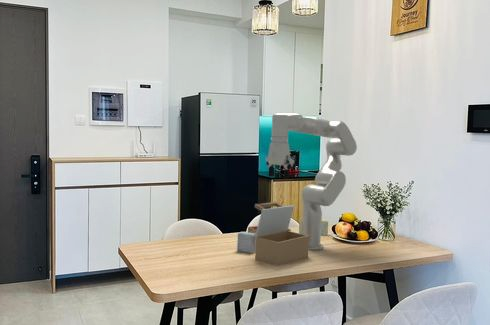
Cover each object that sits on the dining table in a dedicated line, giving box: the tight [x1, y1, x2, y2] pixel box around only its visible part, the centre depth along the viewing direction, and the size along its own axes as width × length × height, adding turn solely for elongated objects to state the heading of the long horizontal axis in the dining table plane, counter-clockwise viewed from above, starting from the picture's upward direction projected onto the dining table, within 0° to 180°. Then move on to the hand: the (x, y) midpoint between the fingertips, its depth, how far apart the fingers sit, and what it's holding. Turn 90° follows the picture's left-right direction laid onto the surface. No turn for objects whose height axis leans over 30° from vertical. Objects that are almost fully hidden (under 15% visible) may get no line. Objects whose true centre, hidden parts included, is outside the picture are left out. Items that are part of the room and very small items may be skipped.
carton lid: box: [254, 201, 295, 237], centre depth 212 cm, size 13×22×9 cm
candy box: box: [298, 219, 329, 237], centre depth 257 cm, size 16×2×8 cm, turn 83°
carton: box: [254, 230, 310, 267], centre depth 207 cm, size 13×22×10 cm, turn 135°
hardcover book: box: [247, 225, 292, 237], centre depth 253 cm, size 12×21×4 cm, turn 110°
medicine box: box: [236, 231, 256, 254], centre depth 216 cm, size 8×4×9 cm, turn 65°
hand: (279, 177), depth 212 cm, fingers open, 9 cm apart
